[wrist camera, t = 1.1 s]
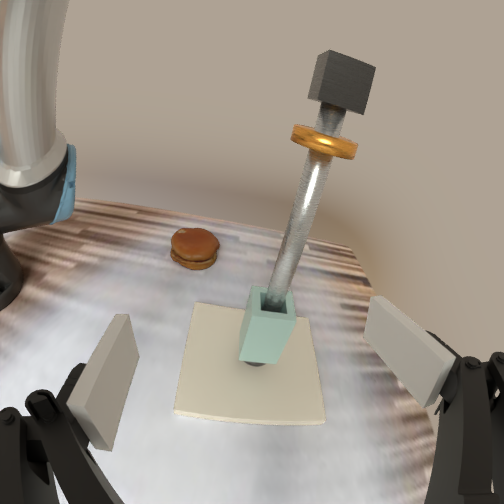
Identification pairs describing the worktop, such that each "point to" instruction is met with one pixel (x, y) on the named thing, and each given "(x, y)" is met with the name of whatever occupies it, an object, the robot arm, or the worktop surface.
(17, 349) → the worktop surface
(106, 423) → the robot arm
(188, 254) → the burger
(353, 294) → the worktop surface
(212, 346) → the cream stand base
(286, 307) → the teal sleeve
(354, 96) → the metal rod
